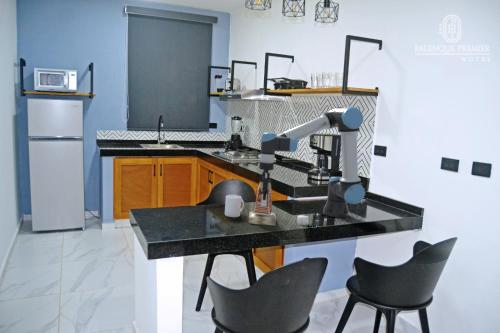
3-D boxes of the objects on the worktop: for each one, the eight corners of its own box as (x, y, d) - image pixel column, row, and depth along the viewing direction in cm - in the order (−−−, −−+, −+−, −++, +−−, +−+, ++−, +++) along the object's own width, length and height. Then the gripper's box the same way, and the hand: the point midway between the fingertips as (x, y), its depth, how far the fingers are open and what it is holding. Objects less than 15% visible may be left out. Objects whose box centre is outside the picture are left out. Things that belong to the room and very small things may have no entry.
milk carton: (269, 215, 216) (272, 178, 213) (252, 213, 217) (255, 176, 215) (272, 212, 225) (275, 175, 222) (255, 210, 226) (258, 174, 224)
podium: (274, 218, 228) (274, 212, 228) (275, 225, 214) (276, 219, 214) (249, 216, 228) (249, 210, 228) (248, 223, 214) (249, 217, 214)
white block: (307, 222, 225) (308, 215, 224) (308, 225, 219) (309, 218, 219) (296, 222, 225) (297, 214, 225) (297, 225, 219) (298, 217, 219)
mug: (248, 215, 230) (249, 197, 228) (230, 218, 222) (232, 198, 221) (238, 212, 236) (239, 194, 235) (221, 214, 229) (222, 195, 227)
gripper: (259, 159, 228) (256, 199, 231) (259, 163, 206) (256, 208, 209) (273, 160, 228) (269, 200, 231) (274, 165, 206) (271, 209, 209)
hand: (263, 203), depth 220 cm, fingers closed on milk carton, 9 cm apart
